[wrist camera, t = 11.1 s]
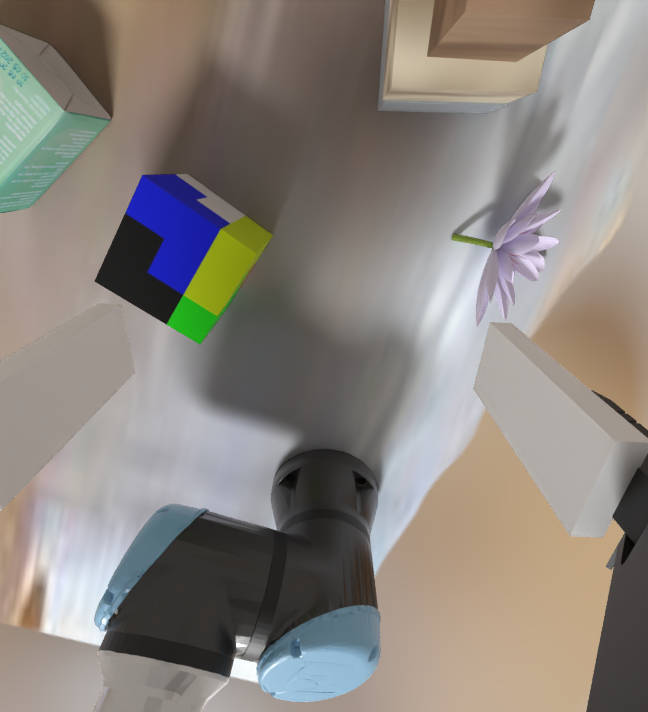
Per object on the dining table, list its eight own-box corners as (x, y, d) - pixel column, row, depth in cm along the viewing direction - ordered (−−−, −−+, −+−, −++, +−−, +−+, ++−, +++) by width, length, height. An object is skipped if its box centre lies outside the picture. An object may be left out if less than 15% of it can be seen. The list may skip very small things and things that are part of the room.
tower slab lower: (485, 113, 35) (508, 105, 31) (377, 111, 35) (384, 102, 31) (511, -32, 31) (542, -67, 26) (387, -35, 31) (397, -70, 26)
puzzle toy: (187, 174, 38) (142, 174, 29) (273, 235, 40) (256, 253, 31) (146, 257, 41) (94, 281, 32) (226, 308, 44) (199, 344, 35)
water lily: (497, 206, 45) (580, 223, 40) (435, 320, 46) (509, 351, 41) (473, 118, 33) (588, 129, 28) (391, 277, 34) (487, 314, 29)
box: (-36, 146, 37) (-118, 141, 30) (49, 41, 33) (-21, 9, 26) (29, 211, 39) (-32, 220, 33) (115, 120, 36) (67, 109, 29)
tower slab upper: (506, 103, 31) (537, 91, 26) (382, 99, 31) (391, 87, 26) (540, -70, 26) (584, -119, 22) (395, -74, 26) (409, -124, 22)
